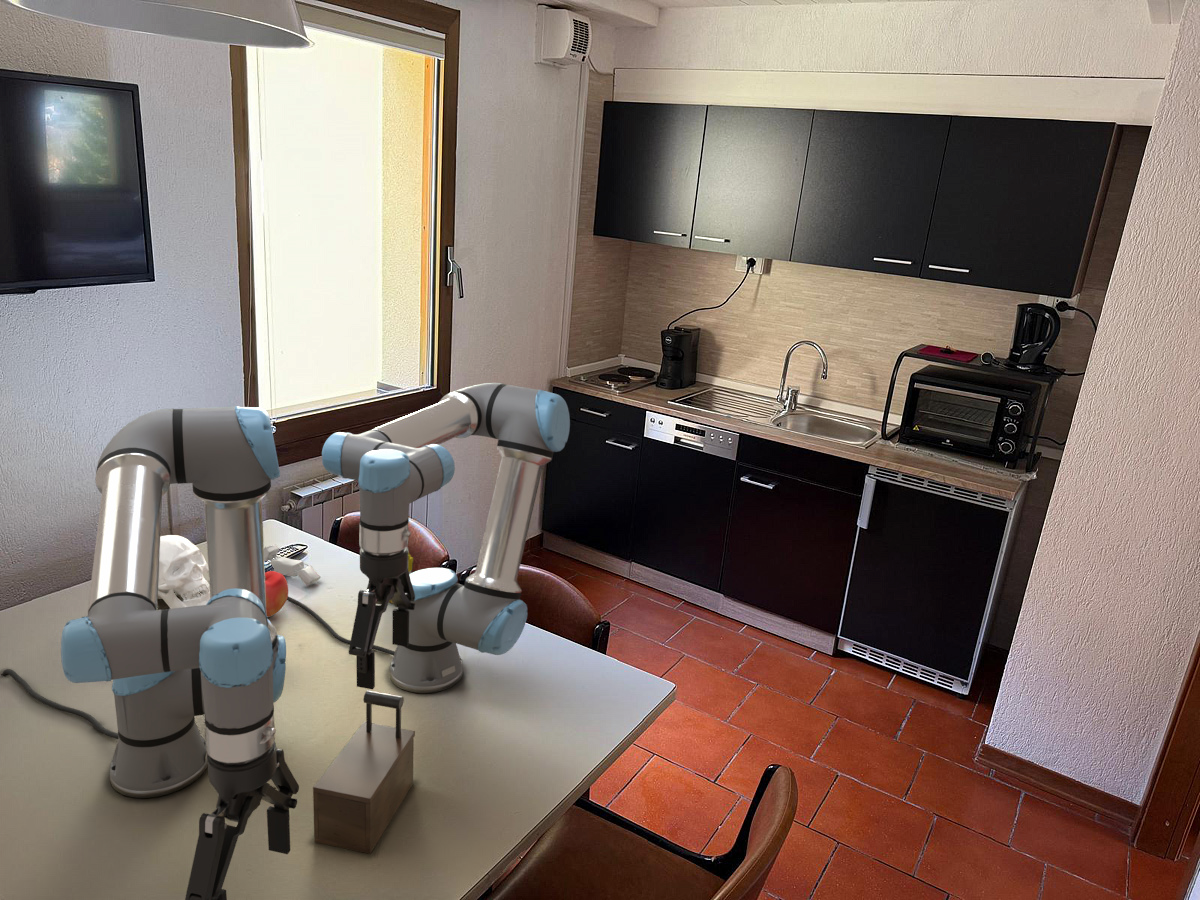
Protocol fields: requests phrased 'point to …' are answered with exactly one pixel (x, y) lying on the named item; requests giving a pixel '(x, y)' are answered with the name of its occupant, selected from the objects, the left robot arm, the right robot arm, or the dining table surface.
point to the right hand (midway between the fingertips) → (383, 665)
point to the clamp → (290, 566)
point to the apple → (275, 592)
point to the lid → (367, 754)
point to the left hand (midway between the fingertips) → (250, 889)
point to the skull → (182, 573)
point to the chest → (362, 811)
